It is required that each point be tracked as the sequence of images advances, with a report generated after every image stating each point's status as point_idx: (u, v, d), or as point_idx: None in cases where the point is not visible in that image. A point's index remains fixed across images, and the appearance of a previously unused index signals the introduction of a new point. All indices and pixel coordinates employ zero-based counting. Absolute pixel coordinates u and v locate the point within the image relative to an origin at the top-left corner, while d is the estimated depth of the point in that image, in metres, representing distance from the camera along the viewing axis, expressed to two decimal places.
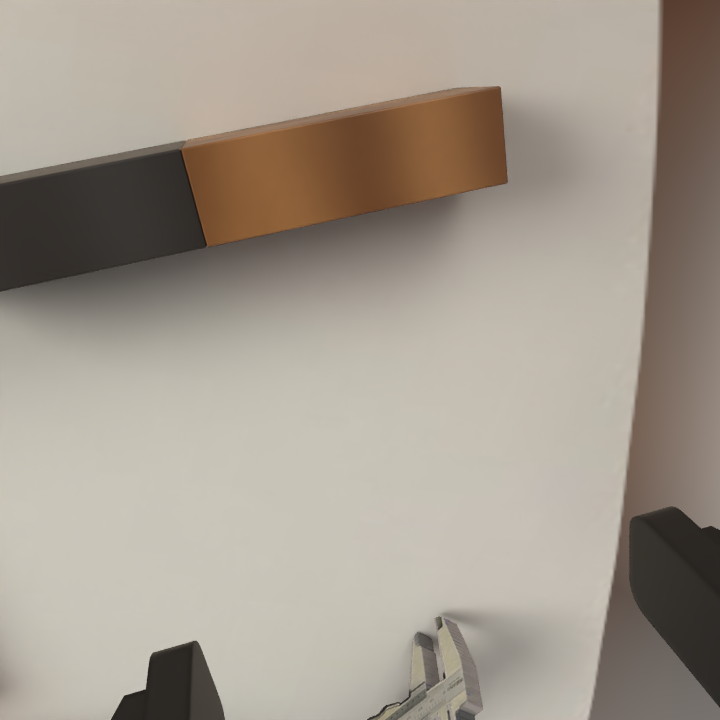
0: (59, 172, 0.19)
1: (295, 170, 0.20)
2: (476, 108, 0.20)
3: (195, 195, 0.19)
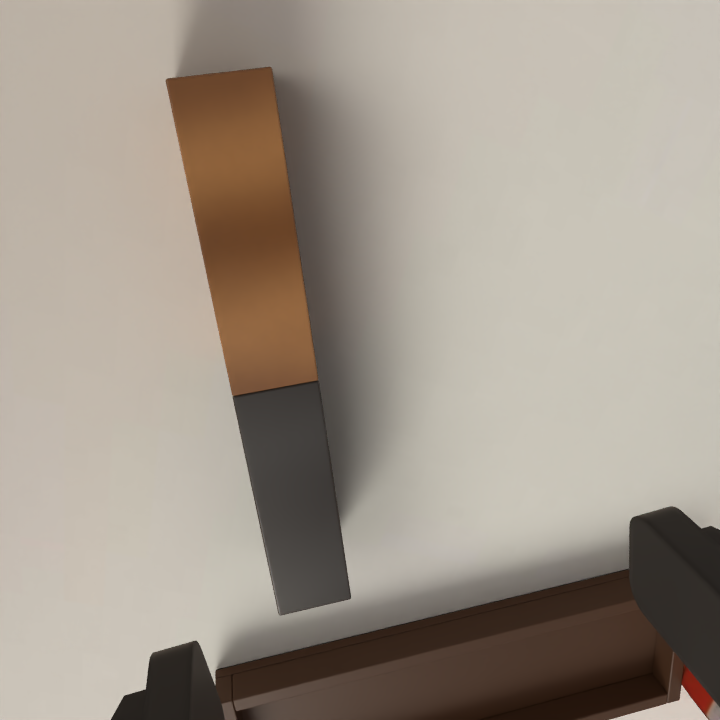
0: (250, 480, 0.23)
1: (252, 302, 0.21)
2: (190, 109, 0.18)
3: (272, 387, 0.22)
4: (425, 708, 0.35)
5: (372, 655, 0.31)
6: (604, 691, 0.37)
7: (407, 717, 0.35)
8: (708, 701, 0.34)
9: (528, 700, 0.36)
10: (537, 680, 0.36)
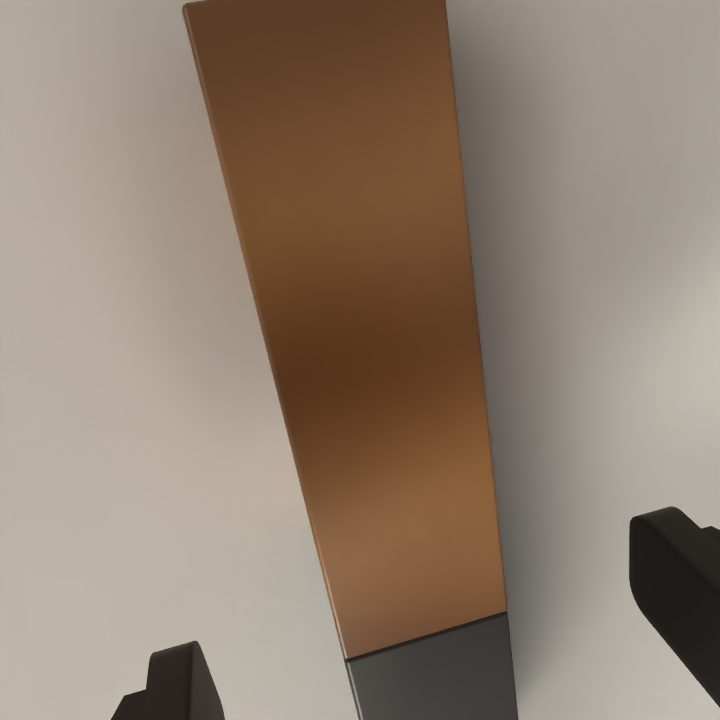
0: None
1: (386, 490, 0.10)
2: (246, 79, 0.07)
3: (421, 634, 0.11)
4: None
5: None
6: None
7: None
8: None
9: None
10: None
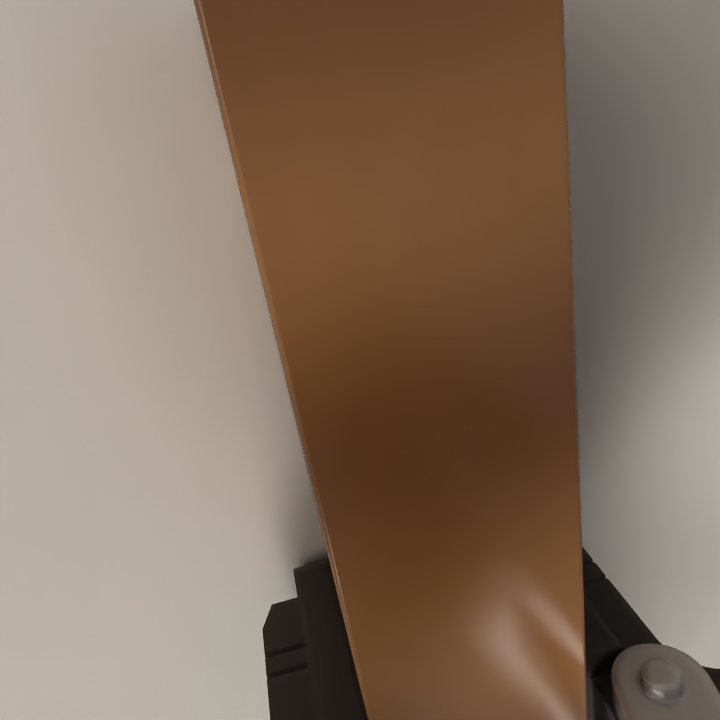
0: None
1: (447, 594, 0.08)
2: (275, 55, 0.05)
3: None
4: None
5: None
6: None
7: None
8: None
9: None
10: None
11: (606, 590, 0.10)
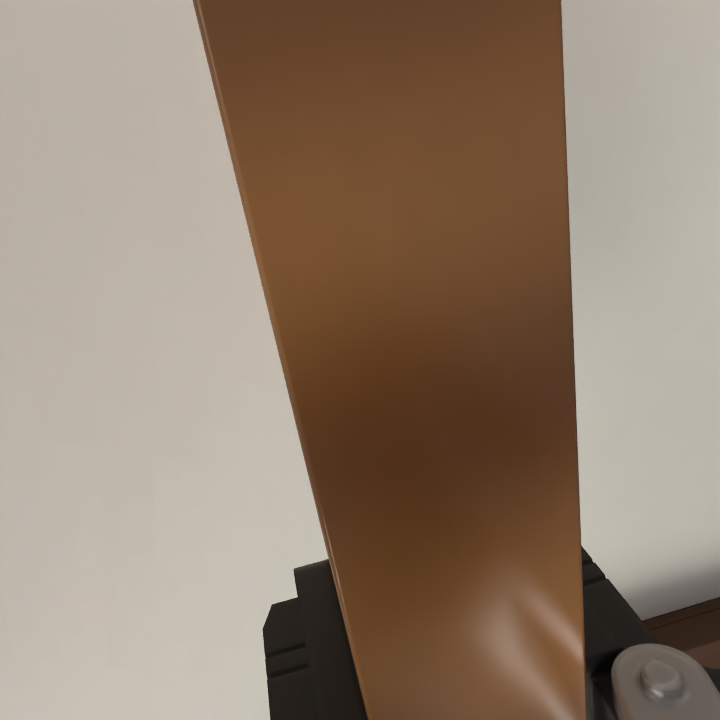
0: None
1: (446, 593, 0.08)
2: (273, 53, 0.05)
3: None
4: None
5: None
6: None
7: None
8: None
9: None
10: None
11: (606, 590, 0.10)
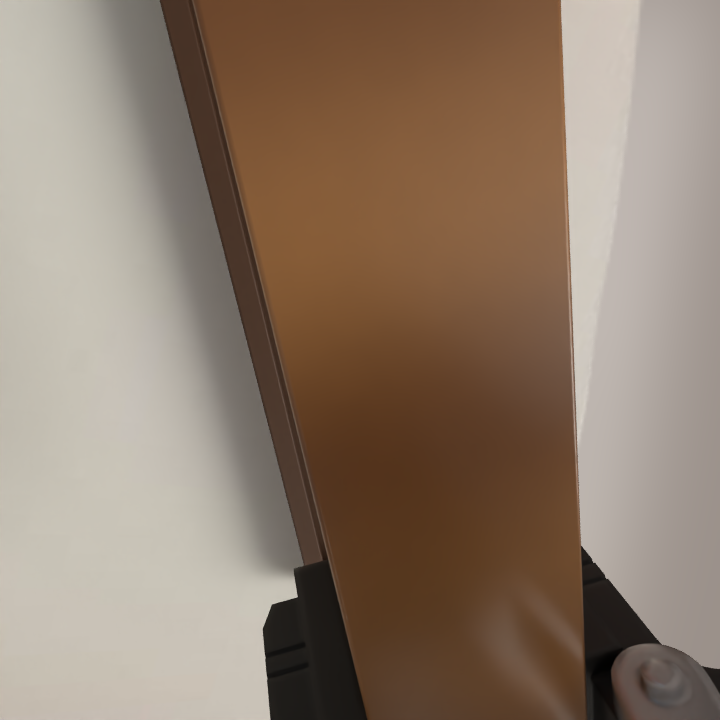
0: None
1: (445, 593, 0.08)
2: (271, 52, 0.05)
3: None
4: None
5: None
6: None
7: None
8: None
9: None
10: None
11: (606, 590, 0.10)
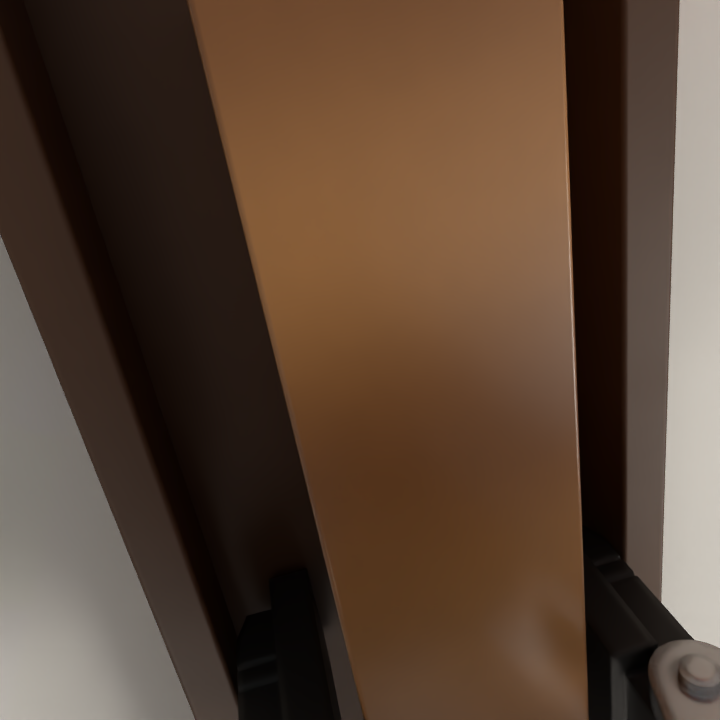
0: None
1: (445, 603, 0.07)
2: (268, 55, 0.05)
3: None
4: None
5: None
6: (577, 83, 0.09)
7: None
8: None
9: None
10: None
11: (636, 587, 0.10)
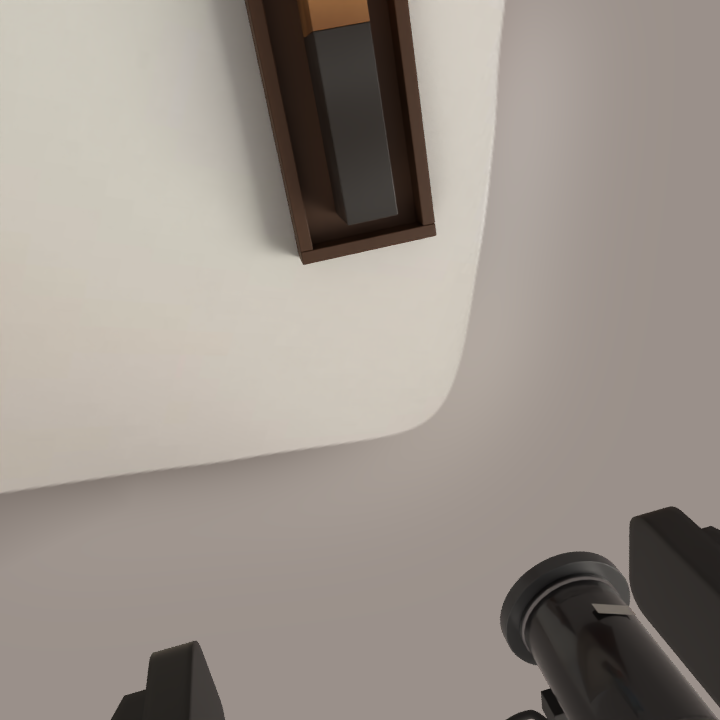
0: (326, 104, 0.34)
1: None
2: None
3: (339, 25, 0.33)
4: None
5: (275, 135, 0.37)
6: None
7: None
8: None
9: None
10: None
11: None
